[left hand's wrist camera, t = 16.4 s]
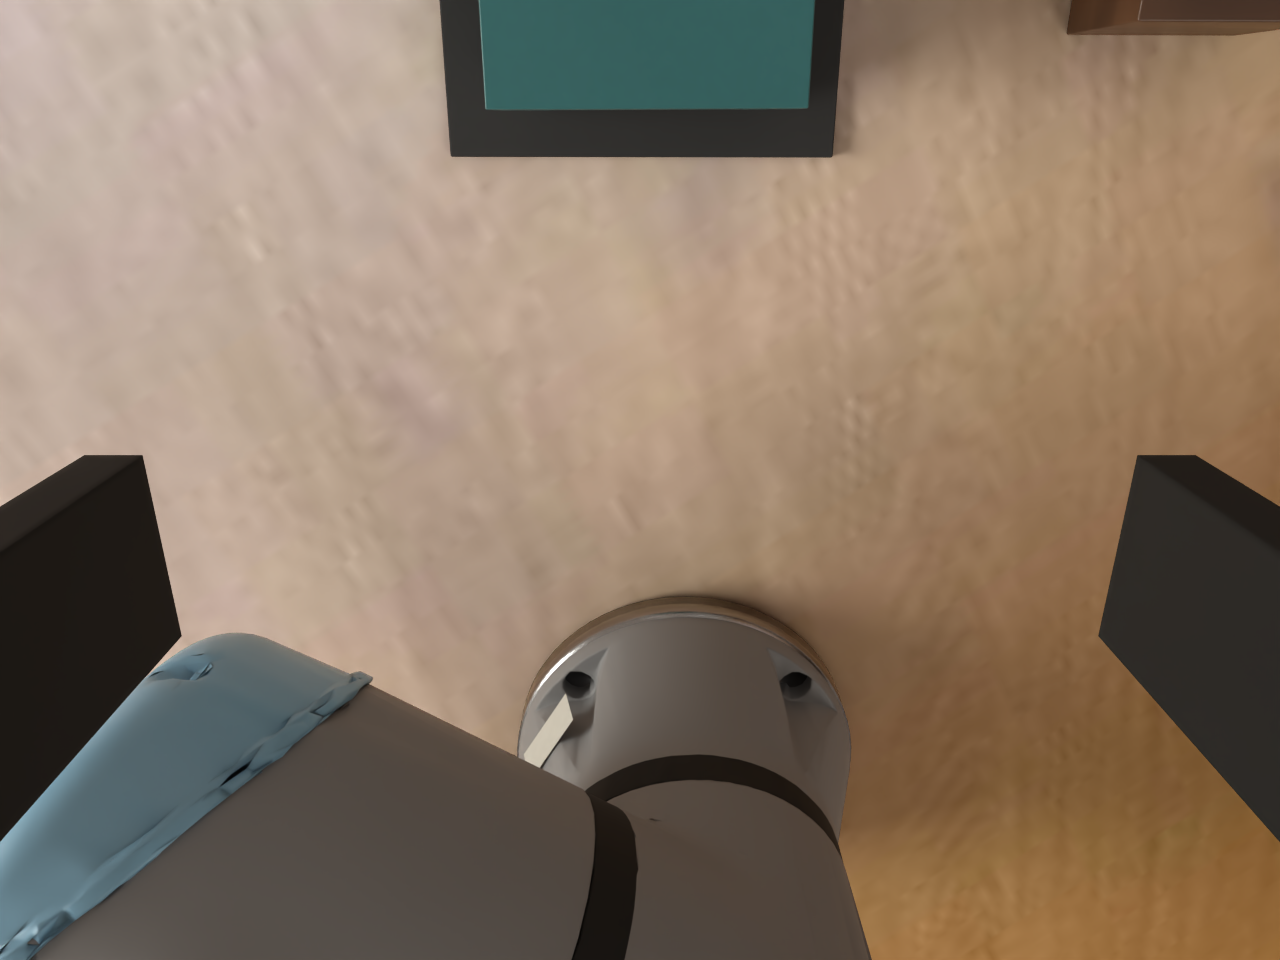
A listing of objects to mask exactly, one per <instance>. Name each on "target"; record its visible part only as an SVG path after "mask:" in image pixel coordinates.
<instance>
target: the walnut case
mask: <svg viewBox="0 0 1280 960" xmlns="http://www.w3.org/2000/svg"><path fill="white" fill-rule="evenodd" d="M1279 29H1280V0H1072V4H1071V10H1070V16H1069V22H1068V28H1067V34H1068V35H1241V34H1249V33H1256V32H1264V31H1272V30H1279Z"/></svg>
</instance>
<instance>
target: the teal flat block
mask: <svg viewBox="0 0 1280 960" xmlns="http://www.w3.org/2000/svg"><path fill="white" fill-rule="evenodd" d="M814 11H815V0H479V14H480V30H481V46H482V62H483V78H484V94H485V108H486V109H487V110H695V109H743V110H745V109H807V108H808V107H809V93H810V77H811V60H812V44H813V27H814Z"/></svg>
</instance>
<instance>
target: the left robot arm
mask: <svg viewBox="0 0 1280 960" xmlns="http://www.w3.org/2000/svg"><path fill="white" fill-rule="evenodd" d="M180 637H181V631H180V626H179V622H178V617H177V613H176V608H175V603H174V599H173V594H172V589H171V585H170V580H169V576H168V571H167V566H166V562H165V557H164V553H163V548H162V543H161V539H160V534H159V529H158V525H157V520H156V516H155V511H154V506H153V502H152V497H151V492H150V488H149V483H148V479H147V474H146V469H145V465H144V460H143V456H142V455H84V456H82V457H81V458H79V459H77V460H76V461H74V462H73V463H71V464H69V465H68V466H66V467H64V468H63V469H61V470H59V471H58V472H56V473H55V474H53V475H51V476H50V477H48V478H46V479H45V480H43V481H41V482H40V483H38V484H37V485H35V486H33V487H32V488H30V489H28V490H27V491H25V492H23V493H22V494H20V495H19V496H17V497H15V498H14V499H12V500H10V501H9V502H7V503H5V504H4V505H2V506H1V507H0V960H872V959H871V956H870V952H869V949H868V945H867V942H866V938H865V935H864V932H863V928H862V925H861V921H860V918H859V914H858V911H857V908H856V904H855V901H854V897H853V894H852V890H851V887H850V884H849V880H848V877H847V873H846V870H845V867H844V864H843V860H842V857H841V853H840V849H839V845H838V841H839V834H840V828H841V821H842V815H843V808H844V802H845V796H846V789H847V783H848V776H849V770H850V760H851V740H850V731H849V726H848V721H847V718H846V715H845V712H844V709H843V706H842V703H841V700H840V697H839V694H838V691H837V688H836V686H835V683H834V681H833V679H832V677H831V675H830V673H829V671H828V670H827V668H826V666H825V665H824V663H823V662H822V660H821V659H820V658H819V656H818V655H817V654H816V653H815V651H814V650H813V649H812V648H811V647H810V646H809V645H808V644H807V643H806V642H805V641H804V640H803V639H802V638H801V637H799V636H798V635H797V634H796V633H795V632H793V631H792V630H791V629H789V628H788V627H786V626H785V625H783V624H782V623H780V622H779V621H777V620H775V619H773V618H771V617H770V616H768V615H766V614H764V613H761V612H759V611H757V610H754V609H752V608H749V607H746V606H743V605H740V604H737V603H733V602H728V601H724V600H719V599H712V598H704V597H686V596H685V597H666V598H659V599H651V600H647V601H642V602H638V603H634V604H631V605H627V606H624V607H621V608H618V609H616V610H614V611H611V612H609V613H606V614H604V615H602V616H600V617H598V618H596V619H595V620H593V621H591V622H589V623H588V624H586V625H585V626H583V627H582V628H580V629H578V630H577V631H576V632H575V633H573V634H572V635H571V636H570V637H568V638H567V639H566V640H565V641H564V642H563V643H562V644H561V645H560V646H559V647H558V648H557V649H556V650H555V651H554V652H553V653H552V654H551V655H550V657H549V658H548V659H547V660H546V662H545V663H544V665H543V666H542V668H541V669H540V671H539V672H538V674H537V676H536V678H535V680H534V682H533V684H532V686H531V688H530V691H529V694H528V696H527V699H526V703H525V707H524V711H523V716H522V721H521V727H520V732H519V739H518V747H517V757H516V756H514V755H512V754H510V753H508V752H506V751H504V750H502V749H500V748H498V747H496V746H494V745H492V744H490V743H488V742H486V741H484V740H482V739H480V738H478V737H476V736H474V735H472V734H470V733H467V732H465V731H463V730H461V729H459V728H457V727H455V726H453V725H451V724H449V723H447V722H445V721H443V720H441V719H439V718H437V717H435V716H433V715H431V714H429V713H427V712H425V711H423V710H421V709H419V708H417V707H414V706H412V705H410V704H408V703H406V702H404V701H402V700H400V699H398V698H396V697H394V696H392V695H390V694H388V693H386V692H384V691H382V690H380V689H378V688H376V687H374V686H372V685H370V684H369V683H371V681H372V679H373V677H371V676H369V675H367V674H365V673H363V672H355V673H352V674H348V673H346V672H344V671H341V670H339V669H337V668H334V667H332V666H330V665H327V664H325V663H323V662H320V661H318V660H316V659H313V658H311V657H309V656H307V655H304V654H302V653H300V652H297V651H295V650H293V649H290V648H288V647H286V646H283V645H281V644H279V643H276V642H274V641H272V640H269V639H267V638H264V637H261V636H257V635H254V634H245V633H227V634H221V635H216V636H212V637H209V638H206V639H203V640H201V641H198V642H196V643H194V644H192V645H190V646H188V647H187V648H185V649H183V650H182V651H180V652H178V653H177V654H175V655H174V656H173V657H171V658H170V659H168V660H167V661H165V662H164V663H163V664H161V665H160V666H159V667H158V668H156V669H155V670H154V671H153V672H151V673H150V674H149V672H150V671H151V670H152V669H153V668H154V667H155V666H156V664H157V663H158V662H159V661H160V660H161V659H162V658H163V657H164V655H165V654H166V653H167V652H168V651H169V650H170V649H171V647H172V646H173V645H174V644H175V643H176V642H177V641H178V640H179V638H180ZM1099 637H1100V638H1101V640H1102V641H1103V642H1104V643H1105V644H1106V645H1107V646H1108V647H1109V649H1110V650H1111V651H1112V652H1113V653H1114V654H1115V655H1116V657H1117V658H1118V659H1119V660H1120V661H1121V662H1122V663H1123V665H1124V666H1125V667H1126V668H1127V669H1128V670H1129V671H1130V672H1131V674H1132V675H1133V676H1134V677H1135V678H1136V679H1137V680H1138V682H1139V683H1140V684H1141V685H1142V686H1143V687H1144V688H1145V689H1146V691H1147V692H1148V693H1149V694H1150V695H1151V696H1152V697H1153V699H1154V700H1155V701H1156V702H1157V703H1158V704H1159V705H1160V706H1161V708H1162V709H1163V710H1164V711H1165V712H1166V713H1167V714H1168V716H1169V717H1170V718H1171V719H1172V720H1173V721H1174V722H1175V724H1176V725H1177V726H1178V727H1179V728H1180V729H1181V730H1182V731H1183V733H1184V734H1185V735H1186V736H1187V737H1188V738H1189V739H1190V741H1191V742H1192V743H1193V744H1194V745H1195V746H1196V747H1197V748H1198V750H1199V751H1200V752H1201V753H1202V754H1203V755H1204V756H1205V758H1206V759H1207V760H1208V761H1209V762H1210V763H1211V764H1212V765H1213V767H1214V768H1215V769H1216V770H1217V771H1218V772H1219V773H1220V775H1221V776H1222V777H1223V778H1224V779H1225V780H1226V781H1227V783H1228V784H1229V785H1230V786H1231V787H1232V788H1233V789H1234V790H1235V792H1236V793H1237V794H1238V795H1239V796H1240V797H1241V798H1242V800H1243V801H1244V802H1245V803H1246V804H1247V805H1248V806H1249V807H1250V809H1251V810H1252V811H1253V812H1254V813H1255V814H1256V815H1257V817H1258V818H1259V819H1260V820H1261V821H1262V822H1263V823H1264V824H1265V826H1266V827H1267V828H1268V829H1269V830H1270V831H1271V832H1272V834H1273V835H1274V836H1275V837H1276V838H1277V839H1278V840H1279V842H1280V507H1279V506H1278V505H1276V504H1275V503H1273V502H1271V501H1270V500H1268V499H1266V498H1265V497H1263V496H1261V495H1260V494H1258V493H1257V492H1255V491H1253V490H1252V489H1250V488H1248V487H1247V486H1245V485H1243V484H1242V483H1240V482H1239V481H1237V480H1235V479H1234V478H1232V477H1230V476H1229V475H1227V474H1225V473H1224V472H1222V471H1221V470H1219V469H1217V468H1216V467H1214V466H1212V465H1211V464H1209V463H1207V462H1206V461H1204V460H1203V459H1201V458H1199V457H1198V456H1196V455H1138V456H1137V460H1136V465H1135V469H1134V474H1133V479H1132V483H1131V488H1130V492H1129V497H1128V502H1127V506H1126V511H1125V516H1124V520H1123V525H1122V529H1121V534H1120V539H1119V543H1118V548H1117V553H1116V557H1115V562H1114V566H1113V571H1112V576H1111V580H1110V585H1109V589H1108V594H1107V599H1106V603H1105V608H1104V613H1103V617H1102V622H1101V626H1100V631H1099ZM148 674H149V675H148ZM147 675H148V676H147ZM146 676H147V677H146ZM145 677H146V678H145Z"/></svg>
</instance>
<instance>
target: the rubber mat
mask: <svg viewBox="0 0 1280 960" xmlns="http://www.w3.org/2000/svg"><path fill="white" fill-rule="evenodd" d="M843 10H844V0H815V11H814V27H813V44H812V60H811V77H810V93H809V107H808V108H807V109H745V110H743V109H695V110H487V109H486V108H485V94H484V78H483V62H482V46H481V30H480V14H479V0H440V12H441V26H442V40H443V54H444V68H445V82H446V96H447V110H448V124H449V138H450V152H451V156H452V157H832V155H833V142H834V129H835V115H836V102H837V89H838V76H839V63H840V50H841V36H842V23H843Z"/></svg>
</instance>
